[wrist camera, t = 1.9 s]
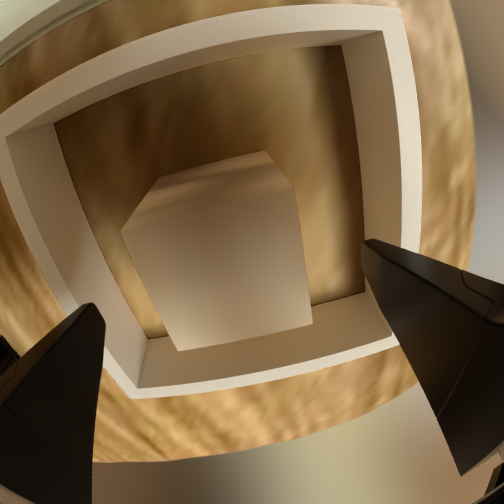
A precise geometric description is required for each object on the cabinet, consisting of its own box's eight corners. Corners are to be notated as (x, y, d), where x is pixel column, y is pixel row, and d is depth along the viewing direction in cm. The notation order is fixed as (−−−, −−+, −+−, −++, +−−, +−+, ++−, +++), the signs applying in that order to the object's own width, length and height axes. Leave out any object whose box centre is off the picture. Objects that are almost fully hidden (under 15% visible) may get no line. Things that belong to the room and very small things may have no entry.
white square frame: (141, 351, 18) (130, 399, 15) (34, 114, 11) (-16, 126, 7) (378, 299, 18) (404, 342, 14) (355, 25, 10) (399, 8, 7)
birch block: (190, 266, 16) (178, 351, 10) (159, 176, 13) (119, 231, 8) (283, 244, 15) (312, 323, 10) (264, 150, 13) (293, 187, 8)
